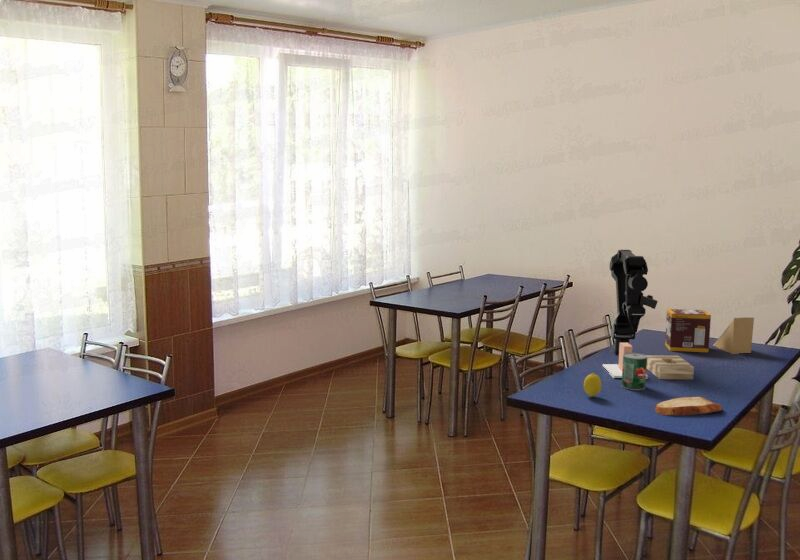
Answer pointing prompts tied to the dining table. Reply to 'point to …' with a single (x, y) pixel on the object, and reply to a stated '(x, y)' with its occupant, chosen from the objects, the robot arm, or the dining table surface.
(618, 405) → the dining table surface
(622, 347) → the pink rectangular block
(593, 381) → the lemon
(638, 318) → the robot arm
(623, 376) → the canned tomato
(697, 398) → the slice of bread
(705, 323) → the supplement box
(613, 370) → the mat
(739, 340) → the sandwich container
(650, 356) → the slot box
